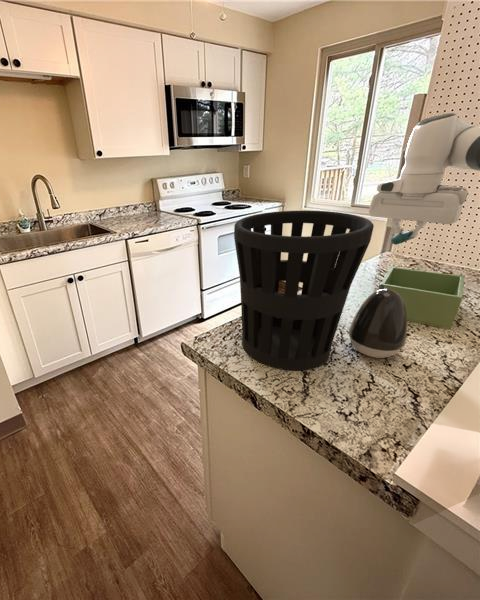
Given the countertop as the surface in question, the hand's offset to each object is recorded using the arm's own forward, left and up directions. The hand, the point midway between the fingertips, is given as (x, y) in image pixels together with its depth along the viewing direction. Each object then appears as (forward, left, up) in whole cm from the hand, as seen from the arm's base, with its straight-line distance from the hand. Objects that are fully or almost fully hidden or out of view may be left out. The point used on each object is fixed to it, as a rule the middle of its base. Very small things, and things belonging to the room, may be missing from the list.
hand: (404, 235), depth 89 cm
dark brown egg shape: (+32, +21, -17) cm, 42 cm away
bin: (+6, +11, -17) cm, 21 cm away
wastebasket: (+48, +12, -17) cm, 52 cm away
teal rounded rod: (0, -1, -1) cm, 2 cm away
